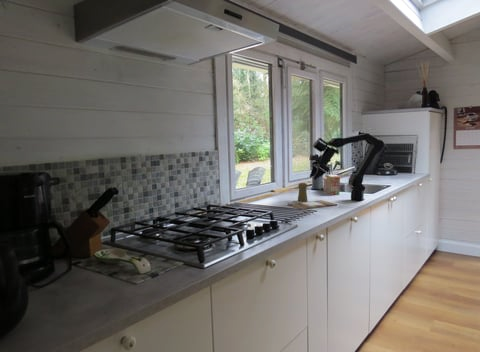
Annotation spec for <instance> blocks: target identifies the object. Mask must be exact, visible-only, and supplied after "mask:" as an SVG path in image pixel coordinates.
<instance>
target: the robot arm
mask: <svg viewBox="0 0 480 352" xmlns="http://www.w3.org/2000/svg"><path fill="white" fill-rule="evenodd" d="M362 141H364V142H366V143H367V144H368V145H369V146H368V152H367V154H366V156H364V159H362V162H361V164H360V165H359V167H358V169H357V171H356V172H355V173H351V174H350V177H349V178H348V181H347V183H348V185H349V186H350V188H351V192H350V201H357V202H362V201H364V200H365V198H364V194H365V190H366V186H364V184H363V182H364V176H365V174H366V172H367V171H368V169H369V167H370V165H371V164H372V162H373V161H374V159H375V157H376V155H377V154H379V153H380V152H381V151H382V150H383V149H384V146H385V143H384V141H383V140H382V139H378V138H377V137H375V136H373V135H372V134H370V133H368V132H367V133H366V132H364V133H362V134H361V133H360V134H356V135H351V136H347V137H333V138H331V139H330V140H329V141H325V140H324V139H322V138H321V137H318V138H317V140H316V141H314V143H313V145H312V147H313V149H315V150H317V151H318V152H320V153H322V152H323V153H322V154H320V155H319V154H316V153H315V154H314V155H313V154H309V161H312V162H311V165H310V166H311V171H310V174H309V178H311V179H312V178H313V180H317V179H318V178H320V177H322V176H323V175H325V174H327V173H329V171H330V167H329V166H328V164H329V163H331V161H332V160H331V159H332V158H333V157H334V155H335V154H337V155H339V154H340V153H339V150H338V148H341V147H344V146H346V145H348V144H349V145H350V144H353V143H358V142H362Z"/></svg>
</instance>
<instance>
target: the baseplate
mask: <svg viewBox="0 0 480 352" xmlns="http://www.w3.org/2000/svg"><path fill="white" fill-rule="evenodd" d="M287 206H289V207H292V208H296V209H299V210H302V211H303V210H311V209H312V210H313V209H318V208H319V209H320V208H327V207H336V206H338V203H334V202H330V201H327V200H323V199H322V200H321V199H319V200H318V199H317V200H311V201H309V200H308V202H293V203H287Z"/></svg>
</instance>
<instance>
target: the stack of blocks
mask: <svg viewBox="0 0 480 352" xmlns="http://www.w3.org/2000/svg"><path fill="white" fill-rule="evenodd" d="M340 185H341V176H339V175H337V174H326V177H323V190H324V192H325V193H327V194H328V195H329V196H340V188H341V187H340Z"/></svg>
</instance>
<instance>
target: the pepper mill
mask: <svg viewBox="0 0 480 352" xmlns="http://www.w3.org/2000/svg"><path fill="white" fill-rule="evenodd" d="M307 188H308V184H307V183H306V182H300V183H298V195H297V203H300V202H309V199H308V193H307Z"/></svg>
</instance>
